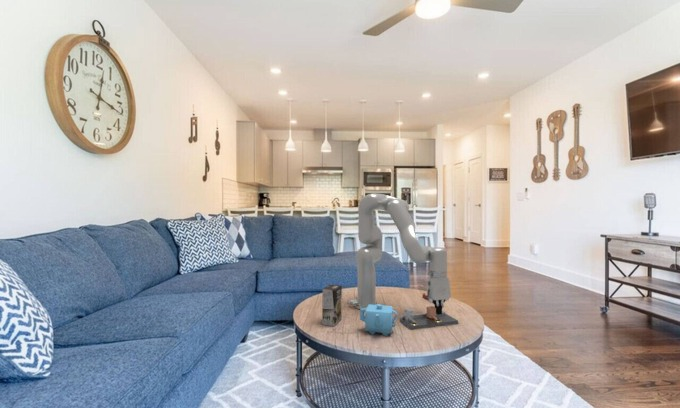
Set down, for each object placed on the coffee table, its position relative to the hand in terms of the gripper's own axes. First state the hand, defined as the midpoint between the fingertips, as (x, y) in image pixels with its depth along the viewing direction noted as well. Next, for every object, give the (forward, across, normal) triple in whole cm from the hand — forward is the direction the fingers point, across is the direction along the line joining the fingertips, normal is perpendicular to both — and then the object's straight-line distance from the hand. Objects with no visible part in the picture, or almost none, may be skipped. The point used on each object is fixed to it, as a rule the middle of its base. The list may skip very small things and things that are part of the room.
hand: (438, 313), depth 145 cm
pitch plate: (+3, -6, -2) cm, 7 cm away
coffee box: (+3, -48, +12) cm, 50 cm away
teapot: (+3, -32, -4) cm, 33 cm away
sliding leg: (+1, -4, -2) cm, 4 cm away
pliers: (+4, +14, +26) cm, 30 cm away
